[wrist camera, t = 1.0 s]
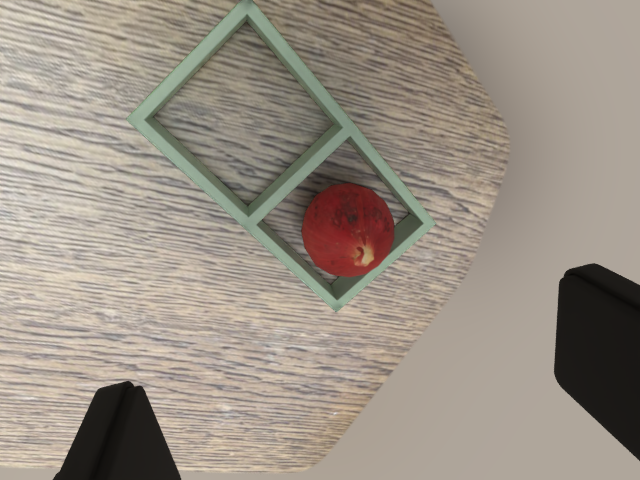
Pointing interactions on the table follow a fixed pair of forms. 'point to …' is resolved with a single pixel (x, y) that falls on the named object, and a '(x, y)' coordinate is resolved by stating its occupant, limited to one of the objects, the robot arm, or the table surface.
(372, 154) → the green rectangular frame
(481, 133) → the table surface
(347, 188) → the red pomegranate
